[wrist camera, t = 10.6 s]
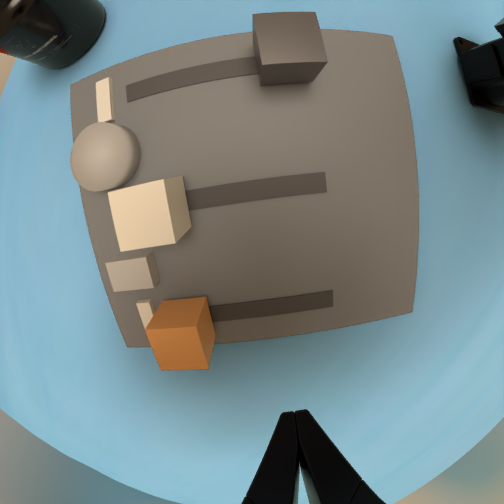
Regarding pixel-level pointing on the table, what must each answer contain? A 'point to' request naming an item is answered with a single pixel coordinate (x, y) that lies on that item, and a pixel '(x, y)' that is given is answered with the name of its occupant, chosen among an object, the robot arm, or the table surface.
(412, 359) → the table surface
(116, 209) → the ivory slider
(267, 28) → the dark brown slider
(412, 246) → the control board
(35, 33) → the supplement bottle
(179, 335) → the orange slider
